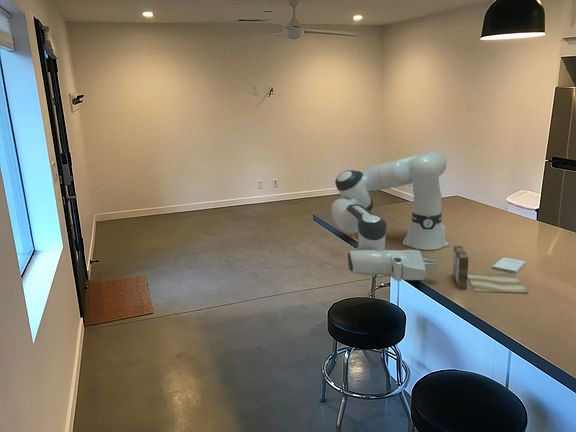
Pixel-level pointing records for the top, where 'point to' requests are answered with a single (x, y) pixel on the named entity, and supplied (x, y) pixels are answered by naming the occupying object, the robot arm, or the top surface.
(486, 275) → the beige square tray
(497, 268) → the external hard drive
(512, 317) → the top surface
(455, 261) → the walnut picture frame
